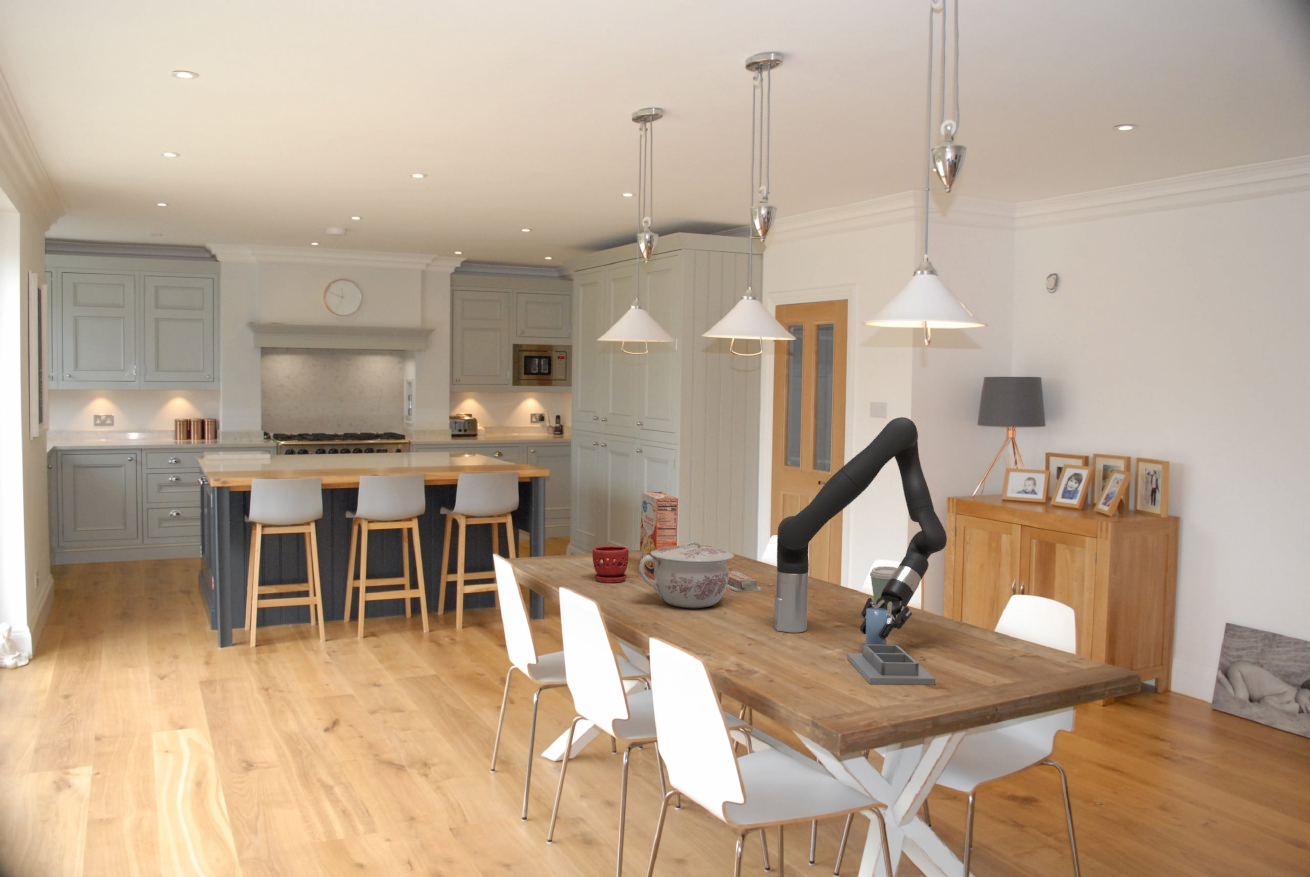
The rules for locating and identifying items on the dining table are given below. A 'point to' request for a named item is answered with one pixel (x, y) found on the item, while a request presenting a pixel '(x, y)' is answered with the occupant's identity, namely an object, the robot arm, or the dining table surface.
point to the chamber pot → (689, 574)
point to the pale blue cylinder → (875, 625)
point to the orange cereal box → (657, 524)
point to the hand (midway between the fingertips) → (872, 634)
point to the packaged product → (742, 582)
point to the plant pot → (610, 563)
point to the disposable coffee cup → (880, 579)
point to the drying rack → (889, 666)
